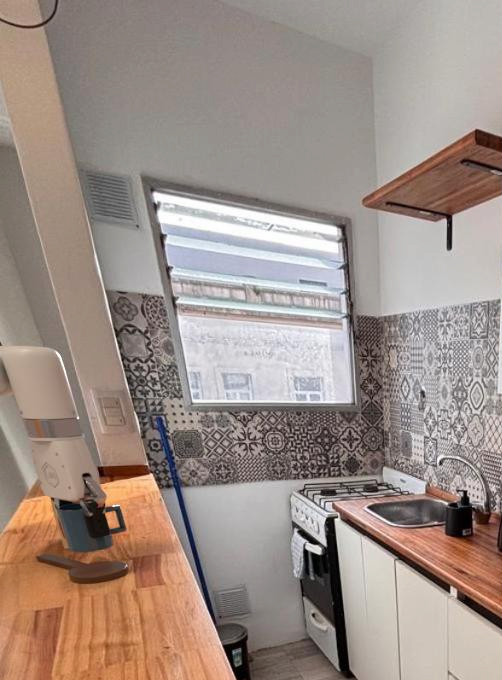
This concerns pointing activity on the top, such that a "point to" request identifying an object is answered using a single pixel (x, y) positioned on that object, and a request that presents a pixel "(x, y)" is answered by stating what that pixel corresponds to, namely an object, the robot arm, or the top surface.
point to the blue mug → (78, 530)
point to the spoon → (87, 569)
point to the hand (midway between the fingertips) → (87, 532)
